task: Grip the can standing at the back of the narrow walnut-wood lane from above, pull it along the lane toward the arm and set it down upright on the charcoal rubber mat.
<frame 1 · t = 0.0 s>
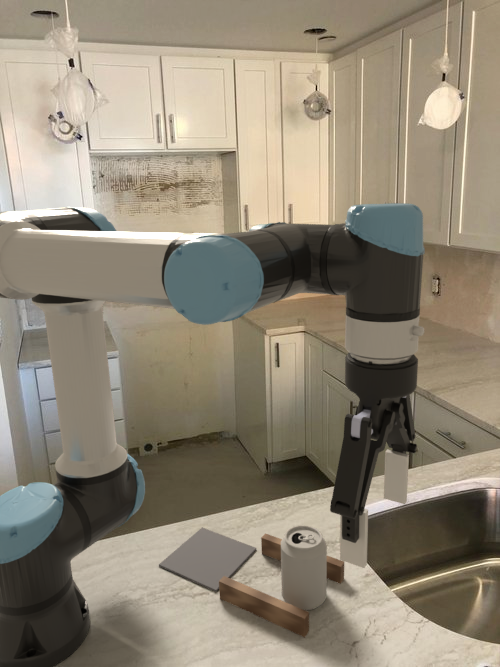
hand: (376, 528, 63), 28 cm above the countertop, tool pointing down, fingers open, 13 cm apart
mat: (208, 557, 102), on the countertop
lane: (283, 588, 93), on the countertop
can: (304, 598, 91), on the countertop
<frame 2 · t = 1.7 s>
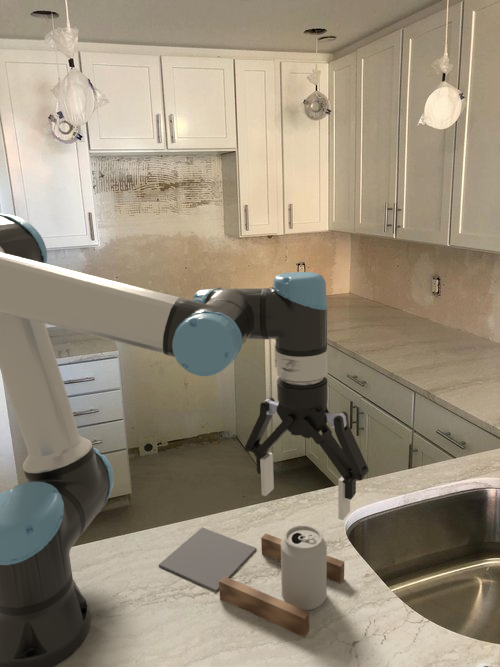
hand: (304, 503, 87), 18 cm above the countertop, tool pointing down, fingers open, 13 cm apart
nothing on the countertop moved.
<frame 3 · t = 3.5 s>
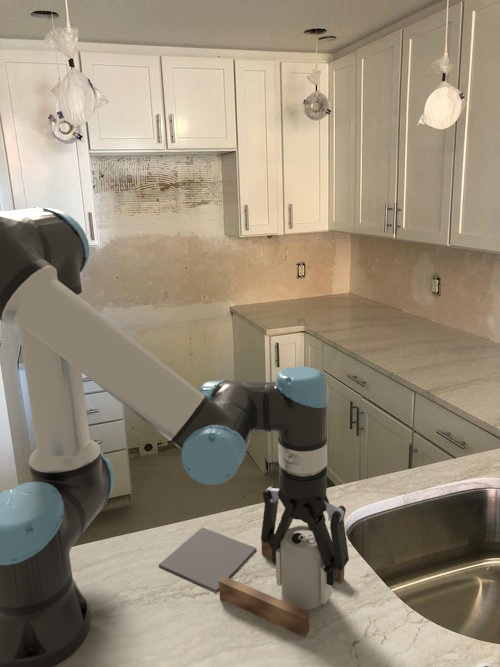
hand: (303, 588, 91), 2 cm above the countertop, tool pointing down, fingers closed on can, 7 cm apart
can: (303, 598, 91), on the countertop, touching gripper
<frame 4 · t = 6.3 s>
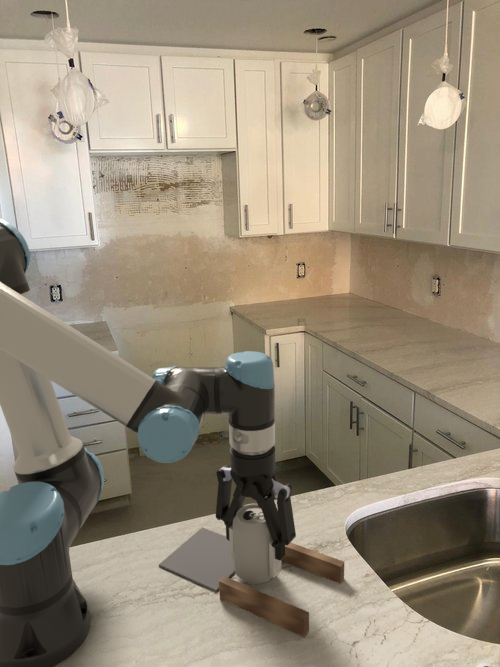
hand: (255, 564, 95), 3 cm above the countertop, tool pointing down, fingers closed on can, 7 cm apart
can: (255, 573, 96), point 1 cm above the countertop, touching gripper
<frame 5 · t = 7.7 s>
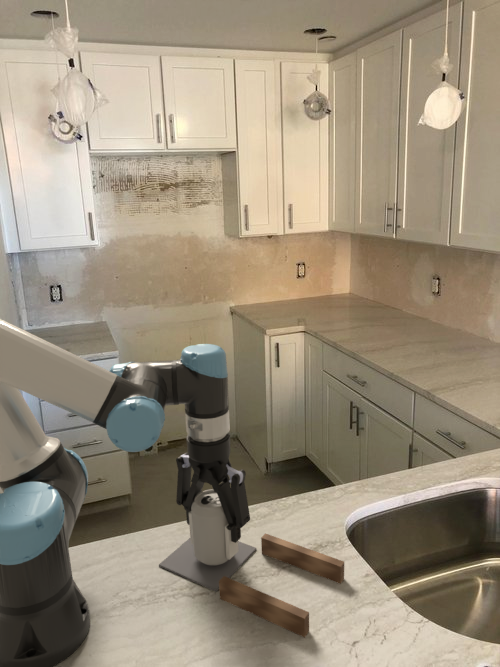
hand: (214, 547, 100), 3 cm above the countertop, tool pointing down, fingers closed on can, 7 cm apart
can: (214, 555, 101), point 1 cm above the countertop, touching gripper
when the fingers open (3 cm above the countertop, at t = 9.1 s): can stays where it is, resting on mat.
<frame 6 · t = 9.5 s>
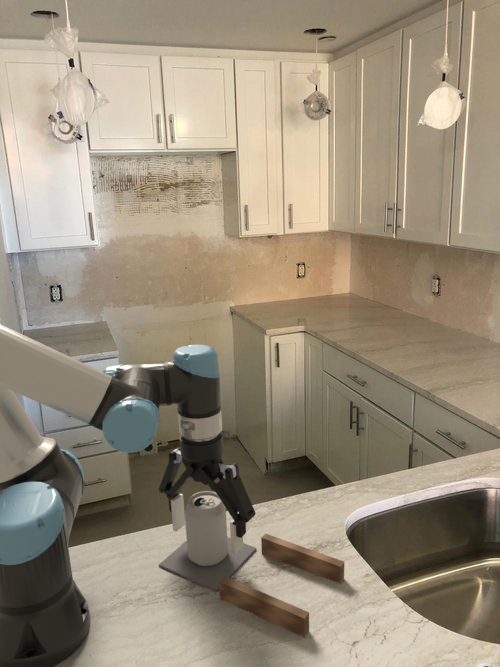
hand: (207, 538, 101), 4 cm above the countertop, tool pointing down, fingers open, 13 cm apart
can: (208, 556, 102), resting on mat
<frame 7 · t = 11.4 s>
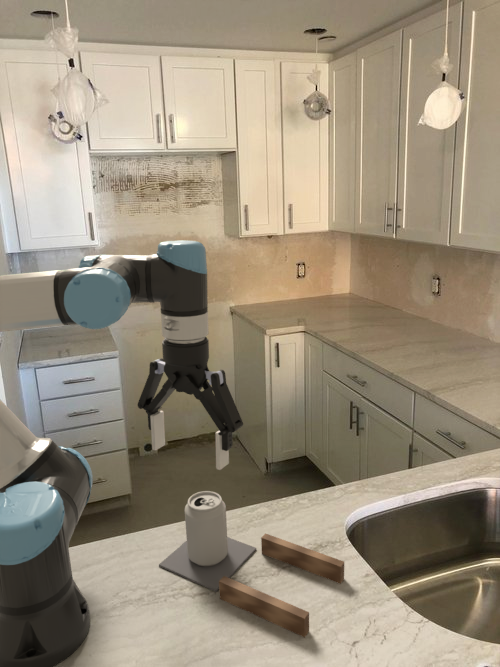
hand: (189, 456, 94), 22 cm above the countertop, tool pointing down, fingers open, 13 cm apart
nothing on the countertop moved.
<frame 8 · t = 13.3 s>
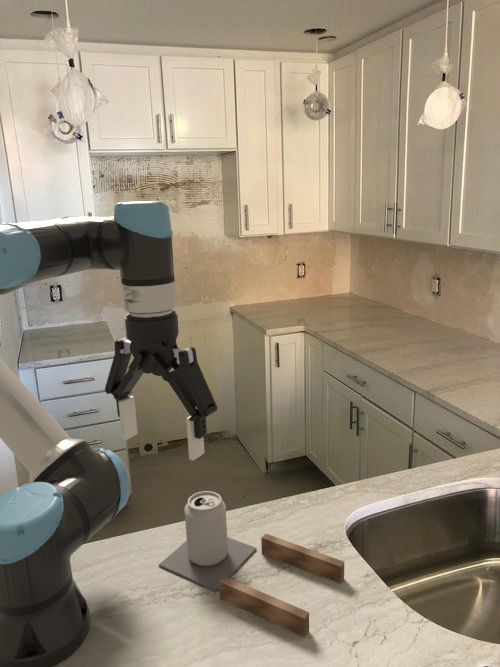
hand: (162, 446, 84), 29 cm above the countertop, tool pointing down, fingers open, 13 cm apart
nothing on the countertop moved.
at the end: can inside the target area (0.1 cm from its centre), resting on mat; can tilted 0°; the gripper is holding nothing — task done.
